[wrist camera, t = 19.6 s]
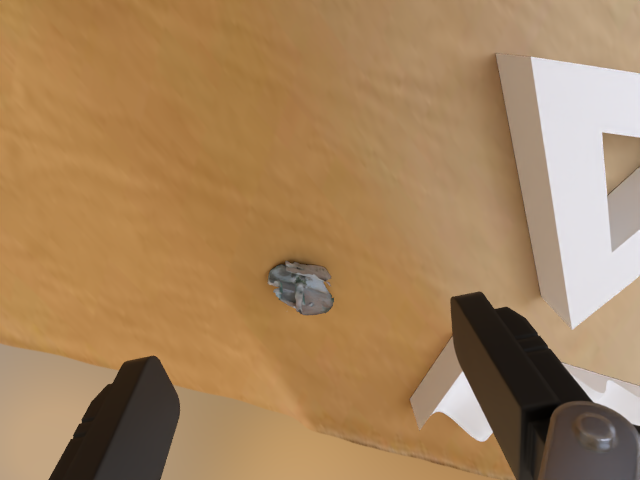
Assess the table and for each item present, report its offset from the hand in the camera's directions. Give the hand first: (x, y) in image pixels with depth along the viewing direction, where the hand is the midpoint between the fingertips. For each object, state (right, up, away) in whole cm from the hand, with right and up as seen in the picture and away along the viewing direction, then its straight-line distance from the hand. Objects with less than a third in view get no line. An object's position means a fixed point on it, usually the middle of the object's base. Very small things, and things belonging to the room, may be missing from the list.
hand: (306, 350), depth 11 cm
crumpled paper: (-1, -1, +37) cm, 37 cm away
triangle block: (+30, +8, +34) cm, 46 cm away
